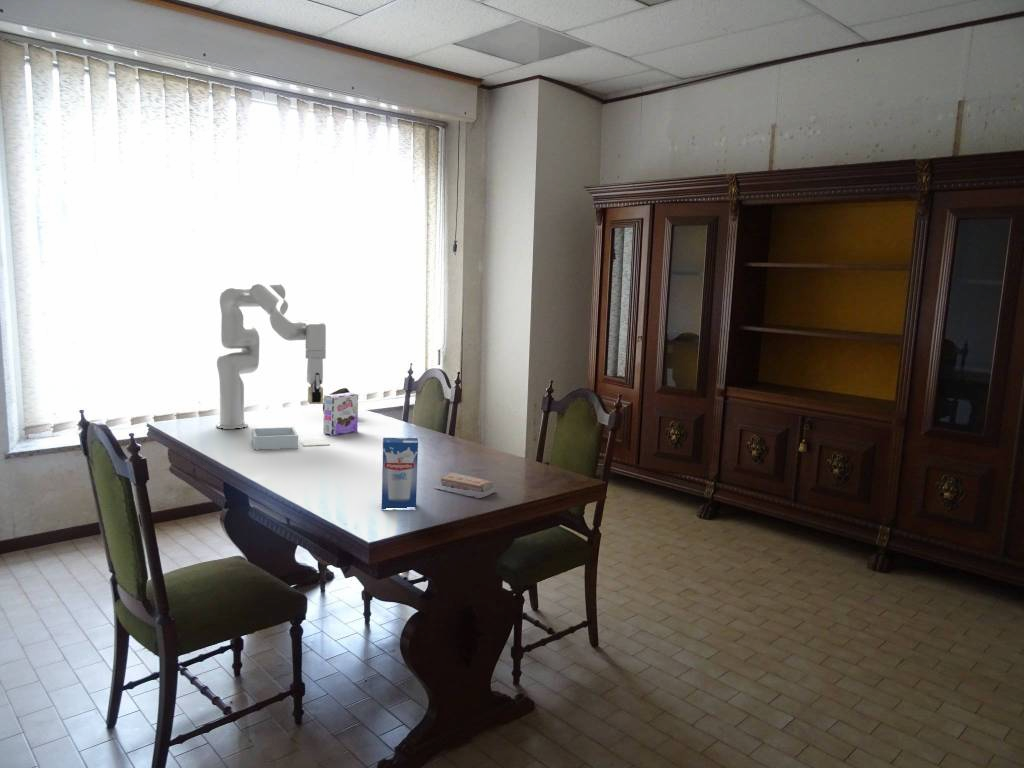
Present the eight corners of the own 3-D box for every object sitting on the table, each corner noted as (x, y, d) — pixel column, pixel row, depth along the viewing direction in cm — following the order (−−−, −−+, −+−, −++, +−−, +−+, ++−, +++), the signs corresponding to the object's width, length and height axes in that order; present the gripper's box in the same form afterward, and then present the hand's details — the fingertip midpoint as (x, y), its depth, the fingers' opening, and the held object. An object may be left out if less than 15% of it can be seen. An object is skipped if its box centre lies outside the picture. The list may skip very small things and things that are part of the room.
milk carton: (415, 503, 219) (417, 437, 216) (416, 510, 213) (418, 442, 210) (381, 503, 217) (383, 437, 215) (381, 510, 211) (382, 442, 208)
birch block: (308, 401, 289) (308, 386, 288) (321, 401, 291) (321, 386, 290) (309, 404, 284) (309, 388, 283) (322, 403, 286) (323, 388, 285)
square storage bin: (252, 441, 288) (252, 428, 287) (293, 439, 294) (293, 427, 293) (254, 450, 274) (254, 437, 273) (298, 448, 280) (298, 435, 279)
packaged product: (497, 478, 234) (480, 485, 226) (497, 493, 235) (479, 501, 226) (451, 469, 243) (433, 475, 235) (450, 483, 244) (432, 490, 235)
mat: (300, 440, 292) (300, 439, 292) (325, 439, 296) (325, 438, 296) (303, 446, 283) (303, 445, 283) (329, 445, 287) (329, 444, 287)
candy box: (332, 436, 303) (332, 396, 301) (322, 434, 307) (323, 394, 304) (358, 431, 314) (358, 393, 312) (348, 429, 317) (349, 391, 315)
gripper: (302, 352, 291) (302, 397, 294) (308, 356, 276) (308, 404, 278) (322, 352, 294) (322, 397, 297) (329, 356, 279) (328, 404, 281)
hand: (315, 400), depth 287 cm, fingers closed on birch block, 4 cm apart
